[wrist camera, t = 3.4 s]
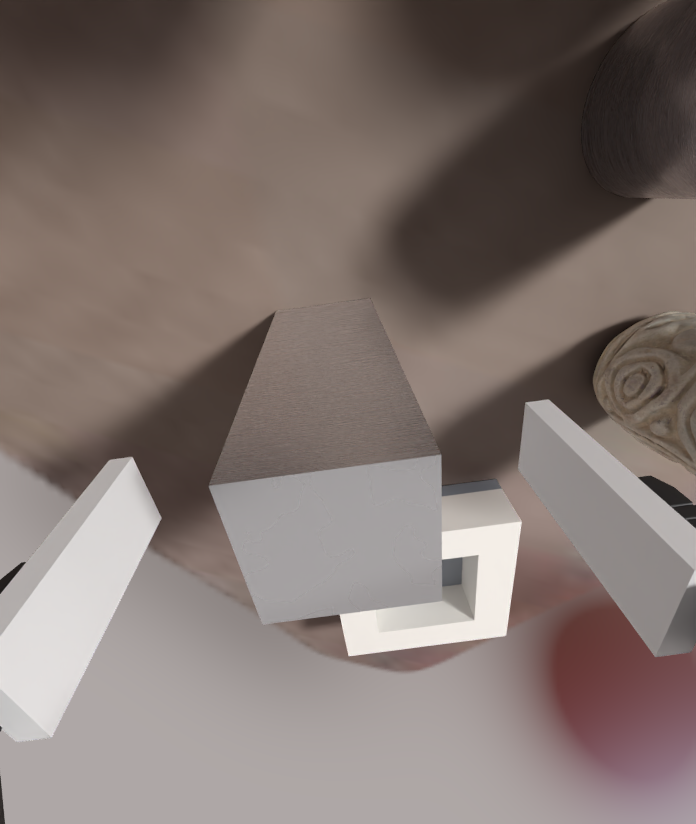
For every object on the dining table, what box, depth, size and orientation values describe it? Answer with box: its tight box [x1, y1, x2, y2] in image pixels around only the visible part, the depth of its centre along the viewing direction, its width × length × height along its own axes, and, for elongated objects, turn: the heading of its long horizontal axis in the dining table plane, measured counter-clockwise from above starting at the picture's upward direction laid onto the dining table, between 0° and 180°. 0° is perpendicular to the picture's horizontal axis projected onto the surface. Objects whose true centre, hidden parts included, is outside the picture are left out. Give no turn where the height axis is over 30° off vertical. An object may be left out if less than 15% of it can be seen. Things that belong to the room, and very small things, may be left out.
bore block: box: [340, 479, 522, 656], centre depth 28 cm, size 12×12×4 cm
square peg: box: [209, 298, 442, 624], centre depth 16 cm, size 5×5×14 cm
